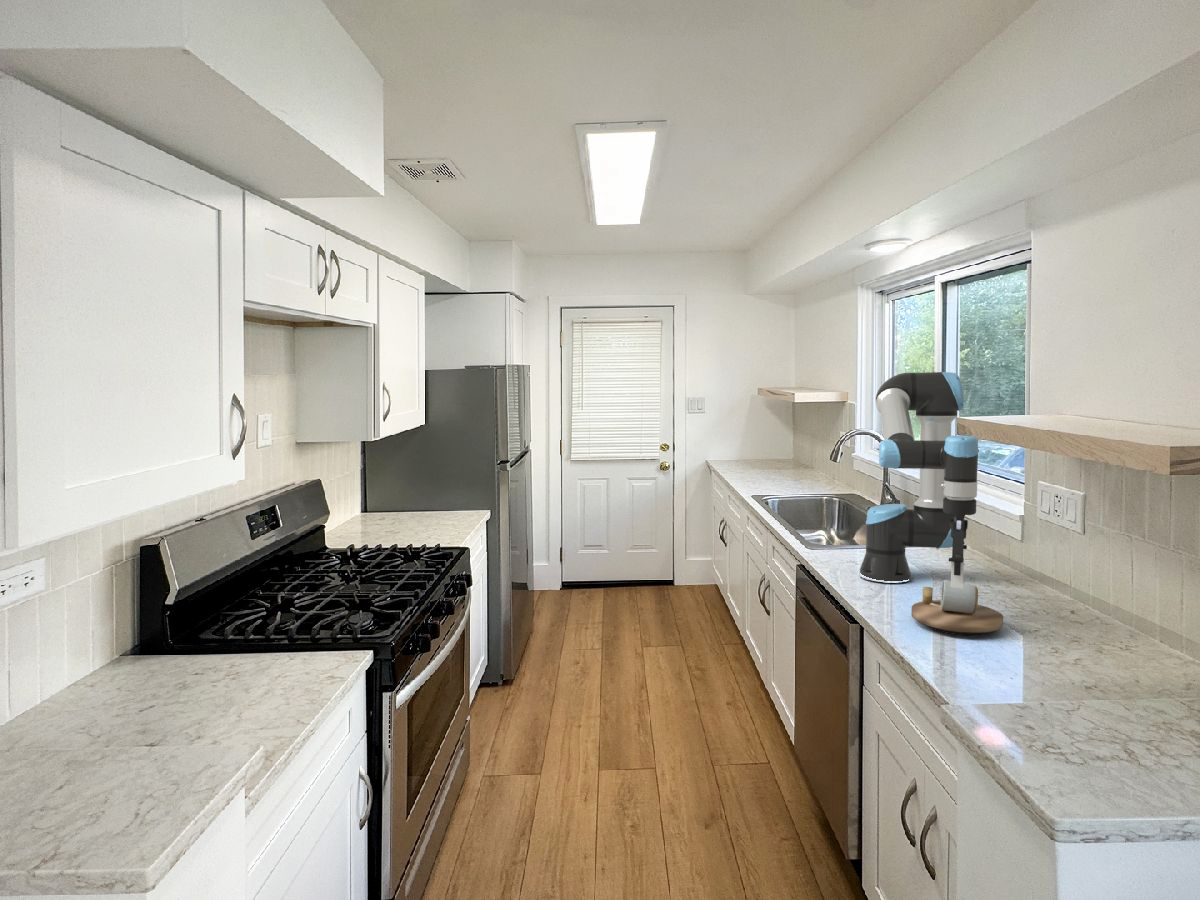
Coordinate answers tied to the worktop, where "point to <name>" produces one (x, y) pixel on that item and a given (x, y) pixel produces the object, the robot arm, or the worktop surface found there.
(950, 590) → the ceramic mug
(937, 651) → the worktop surface
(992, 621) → the disc
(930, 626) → the turntable base
